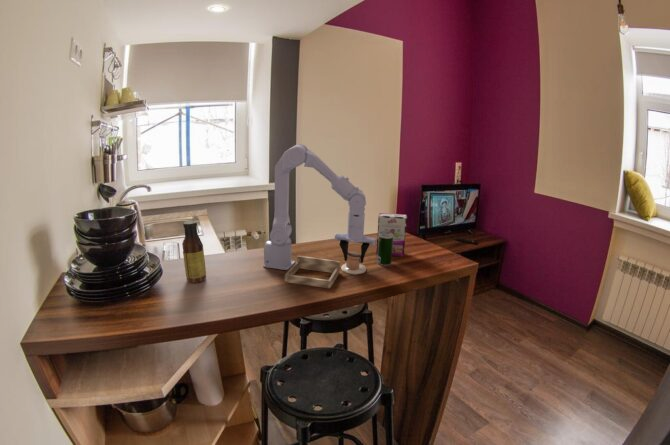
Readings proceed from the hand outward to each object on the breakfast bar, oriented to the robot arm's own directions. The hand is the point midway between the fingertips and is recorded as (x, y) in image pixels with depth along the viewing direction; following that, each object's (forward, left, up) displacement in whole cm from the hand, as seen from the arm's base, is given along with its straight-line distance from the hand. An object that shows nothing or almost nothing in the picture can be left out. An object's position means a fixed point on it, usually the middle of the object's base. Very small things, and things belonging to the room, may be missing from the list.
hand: (353, 261), depth 133 cm
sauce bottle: (-48, -25, -3) cm, 54 cm away
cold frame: (-12, -11, -3) cm, 17 cm away
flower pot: (0, 0, -2) cm, 2 cm away
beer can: (+10, +9, -3) cm, 14 cm away
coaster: (0, 0, -3) cm, 3 cm away
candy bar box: (+11, +20, -3) cm, 23 cm away
